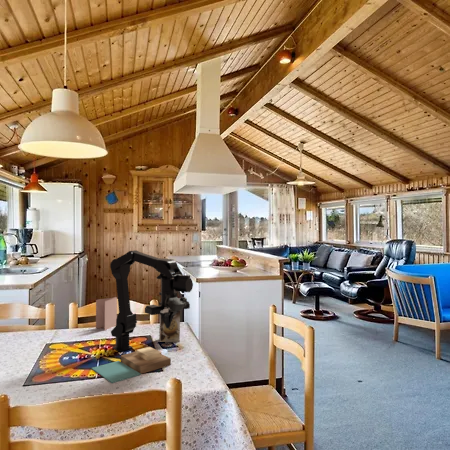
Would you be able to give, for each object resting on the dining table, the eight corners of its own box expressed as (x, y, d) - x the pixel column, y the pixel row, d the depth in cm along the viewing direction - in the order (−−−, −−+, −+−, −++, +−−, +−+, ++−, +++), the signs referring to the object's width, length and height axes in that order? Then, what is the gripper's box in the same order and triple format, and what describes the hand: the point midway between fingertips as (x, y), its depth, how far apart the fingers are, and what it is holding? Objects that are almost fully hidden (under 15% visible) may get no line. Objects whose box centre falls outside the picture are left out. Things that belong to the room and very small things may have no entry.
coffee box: (160, 343, 172) (160, 308, 172) (159, 339, 178) (159, 305, 178) (180, 341, 174) (180, 307, 174) (178, 337, 180) (178, 304, 180)
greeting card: (116, 324, 203) (116, 296, 203) (121, 327, 198) (122, 299, 198) (95, 328, 196) (95, 299, 196) (100, 331, 190) (100, 301, 190)
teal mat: (91, 368, 141) (91, 367, 141) (118, 361, 149) (118, 360, 149) (112, 383, 129) (112, 382, 129) (140, 374, 136) (140, 373, 136)
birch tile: (136, 354, 149) (136, 349, 149) (149, 351, 153) (149, 346, 153) (148, 361, 143) (148, 355, 143) (161, 357, 147) (161, 352, 147)
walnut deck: (120, 361, 149) (120, 355, 149) (149, 354, 157) (149, 348, 157) (141, 373, 137) (141, 367, 137) (170, 365, 146) (170, 358, 145)
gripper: (159, 296, 142) (159, 337, 142) (198, 290, 154) (197, 328, 154) (144, 291, 150) (143, 330, 150) (182, 286, 163) (181, 322, 163)
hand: (167, 328), depth 154 cm, fingers closed
